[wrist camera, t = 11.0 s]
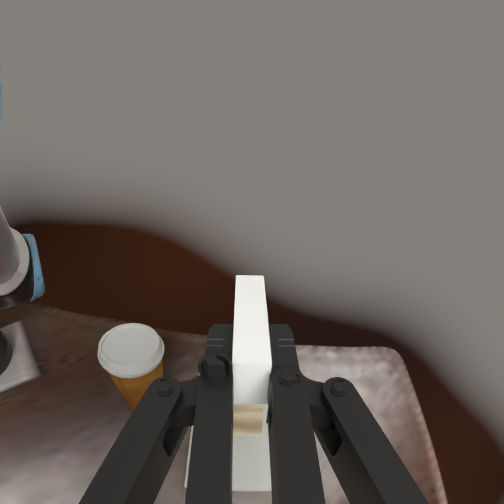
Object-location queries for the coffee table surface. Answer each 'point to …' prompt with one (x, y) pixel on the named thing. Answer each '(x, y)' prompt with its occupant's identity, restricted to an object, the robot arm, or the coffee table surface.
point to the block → (247, 419)
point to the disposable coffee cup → (132, 359)
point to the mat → (248, 460)
